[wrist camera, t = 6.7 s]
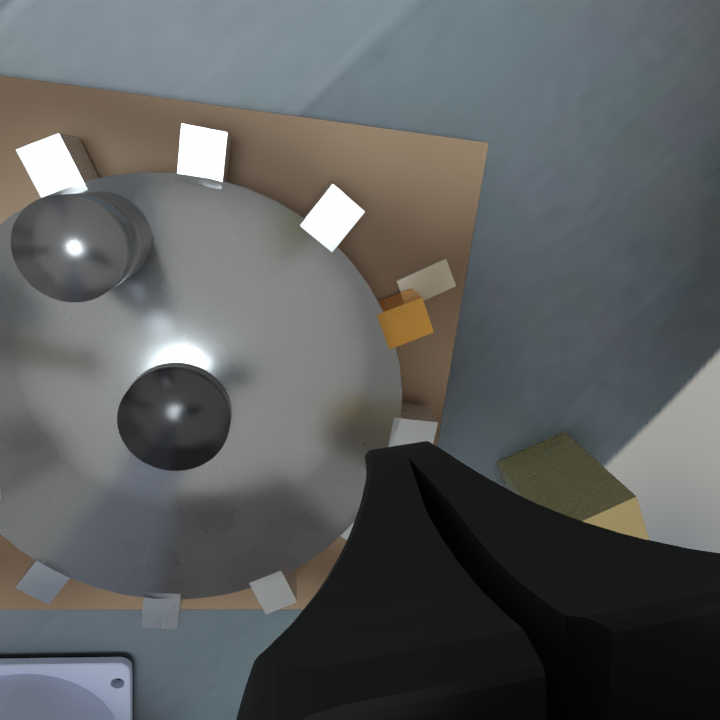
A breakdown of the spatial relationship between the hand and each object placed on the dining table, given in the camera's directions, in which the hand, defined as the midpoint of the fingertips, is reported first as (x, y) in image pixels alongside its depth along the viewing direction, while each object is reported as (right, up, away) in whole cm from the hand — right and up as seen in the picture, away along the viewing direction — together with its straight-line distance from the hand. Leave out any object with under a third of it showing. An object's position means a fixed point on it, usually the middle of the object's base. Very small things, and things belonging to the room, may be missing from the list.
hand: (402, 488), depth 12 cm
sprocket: (-7, +2, +7) cm, 10 cm away
